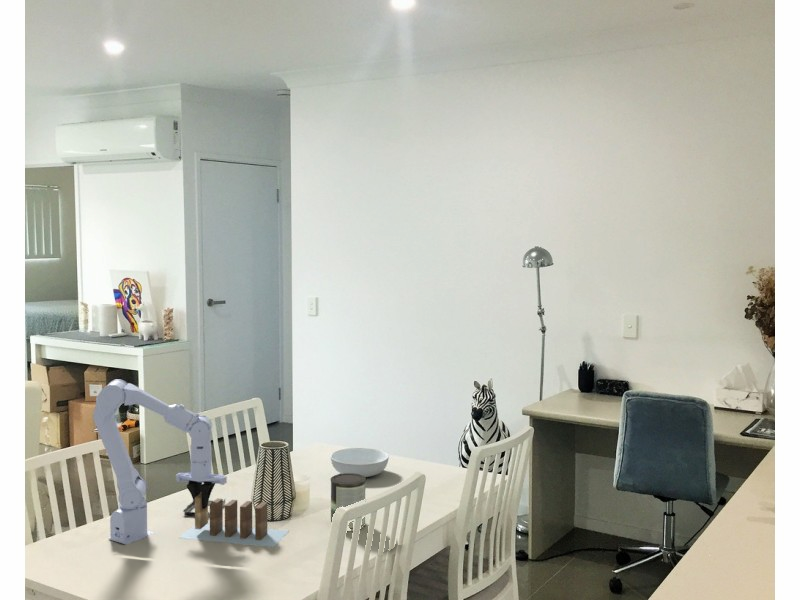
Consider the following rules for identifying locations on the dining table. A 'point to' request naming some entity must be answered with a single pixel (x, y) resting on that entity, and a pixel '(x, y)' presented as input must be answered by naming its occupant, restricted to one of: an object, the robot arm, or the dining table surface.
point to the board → (235, 536)
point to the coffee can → (347, 492)
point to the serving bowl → (359, 461)
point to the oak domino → (200, 513)
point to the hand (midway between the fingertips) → (201, 507)
